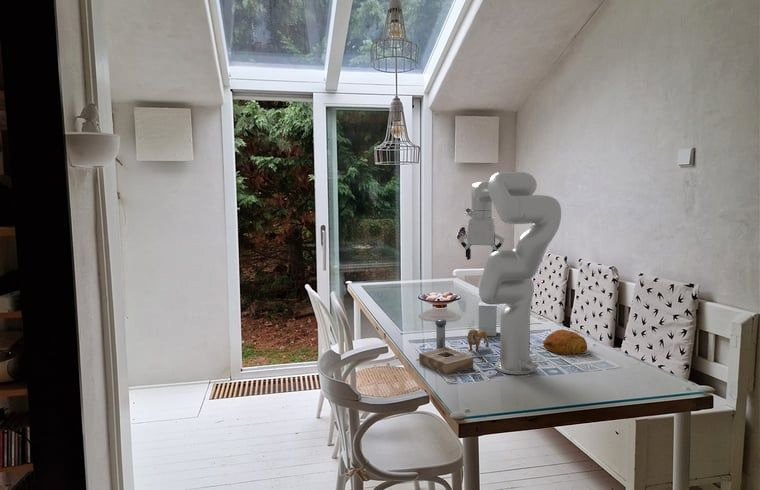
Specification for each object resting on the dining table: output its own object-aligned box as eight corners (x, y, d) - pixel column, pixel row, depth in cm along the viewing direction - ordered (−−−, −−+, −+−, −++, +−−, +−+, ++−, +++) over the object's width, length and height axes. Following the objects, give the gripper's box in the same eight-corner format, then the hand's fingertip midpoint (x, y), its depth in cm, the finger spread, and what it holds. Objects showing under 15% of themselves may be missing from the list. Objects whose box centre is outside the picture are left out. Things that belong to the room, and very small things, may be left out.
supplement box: (496, 336, 209) (496, 305, 208) (477, 335, 211) (478, 305, 209) (496, 331, 216) (496, 302, 215) (478, 330, 218) (478, 301, 217)
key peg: (448, 352, 189) (448, 320, 187) (440, 354, 186) (440, 322, 185) (441, 349, 192) (441, 318, 191) (433, 351, 190) (433, 320, 188)
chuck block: (473, 367, 172) (473, 356, 172) (446, 374, 166) (446, 363, 165) (445, 356, 184) (445, 346, 184) (419, 363, 177) (419, 352, 177)
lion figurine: (478, 355, 184) (478, 331, 184) (464, 353, 187) (464, 329, 186) (490, 345, 197) (491, 322, 196) (477, 343, 200) (477, 320, 199)
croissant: (565, 347, 200) (564, 327, 201) (595, 353, 186) (593, 331, 186) (534, 351, 195) (533, 330, 195) (562, 357, 181) (561, 334, 181)
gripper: (456, 215, 195) (456, 260, 196) (502, 215, 188) (502, 262, 190) (461, 214, 202) (461, 257, 203) (506, 214, 195) (505, 259, 196)
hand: (481, 259), depth 196 cm, fingers open, 9 cm apart
